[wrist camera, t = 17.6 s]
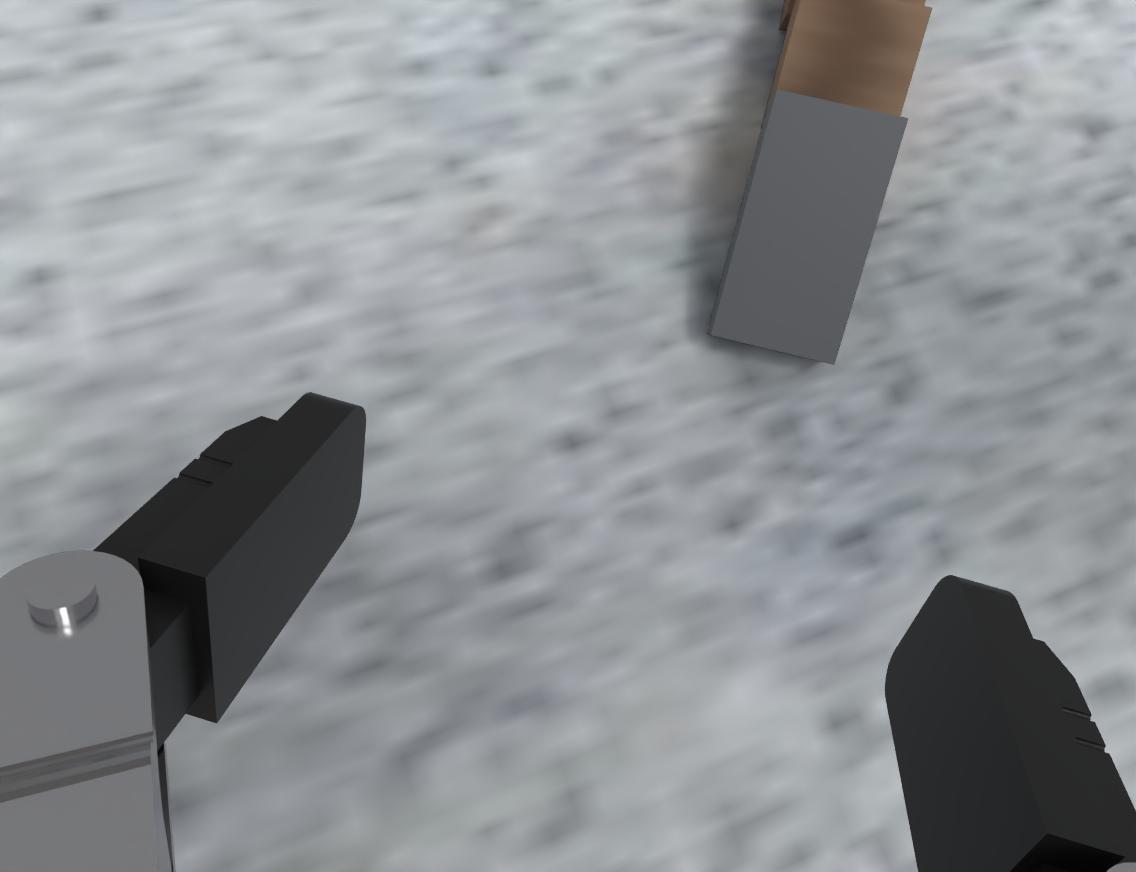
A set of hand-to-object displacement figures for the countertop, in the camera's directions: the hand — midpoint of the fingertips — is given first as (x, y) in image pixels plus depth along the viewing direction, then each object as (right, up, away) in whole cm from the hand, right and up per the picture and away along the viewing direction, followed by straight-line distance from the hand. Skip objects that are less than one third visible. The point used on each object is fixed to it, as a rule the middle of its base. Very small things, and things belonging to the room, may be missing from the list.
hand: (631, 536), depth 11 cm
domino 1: (+9, +10, +22) cm, 26 cm away
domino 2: (+7, +5, +21) cm, 23 cm away
